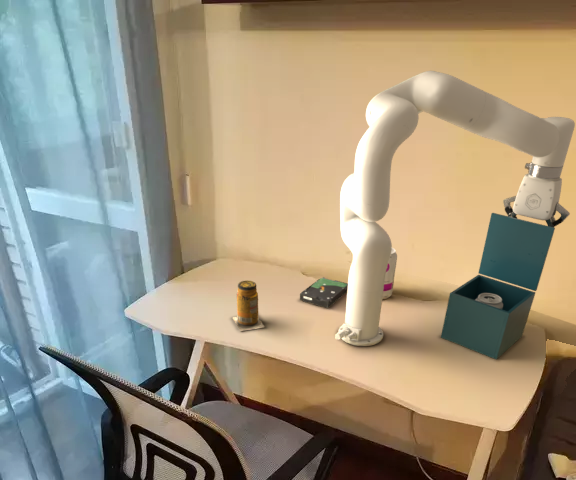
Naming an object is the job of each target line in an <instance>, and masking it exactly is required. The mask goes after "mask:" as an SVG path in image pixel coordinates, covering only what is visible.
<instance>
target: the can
mask: <svg viewBox="0 0 576 480" xmlns="http://www.w3.org/2000/svg"><path fill="white" fill-rule="evenodd" d="M475 300H476V301H478V302H481V303H484V304H487V305H490V306H493V307H496V308H499V309H503V303H502V298H501V297H500V296H498V295H496V294H492V293H482V294H480V295H478V298H476V299H475Z"/></svg>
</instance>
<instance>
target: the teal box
mask: <svg viewBox="0 0 576 480" xmlns="http://www.w3.org/2000/svg"><path fill="white" fill-rule="evenodd" d="M482 293H492V294H496V295H498V296H500V297H501V298H502V303H503V309H499V308H496V307H493V306H490V305H487V304H484V303H481V302H478V301H476V300H475V299H476V298H478V295H480V294H482ZM536 293H537V291H533V290H530V289H527V288H524V287H520V286H517V285H514V284H511V283H508V282H504V281H501V280H498V279H495V278H492V277H488V276H485V275H482V274H476V275H475V276H474V277H472V278H471V279H469V280H467V281H466V282H465V283H463V284H462V285H460V286H459V287H457V288H456V289H454V290H453V291H451V292H450V293H449V296H448V300H447V305H446V311H445V316H444V319H443V326H442V329H441V335H440V338H441V339H443V340H446V341H449V342H451V343H453V344H454V343H455V344H456V345H459V346H462V347H464V348H467V349H469V350H471V351H474V352H476V353H479V354H481V355H483V356H486V357H489V358H492V359H494V360H498V359H499V358H500V357H501V356H502V355H503V354H505V352H507V351H508V350H509V349H510V348H511V347H512V346H514V345H515V344H516V342H518V341H519V340H520V339H521V338H522V337H523V335H524V331H525V329H526V325H527V321H528V318H529V315H530V312H531V309H532V306H533V302H534V300H535V295H536Z"/></svg>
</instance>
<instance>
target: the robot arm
mask: <svg viewBox="0 0 576 480" xmlns="http://www.w3.org/2000/svg"><path fill="white" fill-rule="evenodd" d="M423 112H424V113H426V114H429V115H431V116H433V117H435V118H437V119H440V120H442V121H445V122H447V123H449V124H452V125H454V126H456V127H458V128H461V129H464V131H467V132H470V133H472V134H474V135H477V136H479V137H482V138H485V139H488V140H491V141H495V142H499V143H502V144H504V145H507V146H509V147H510V148H511V149H513V150H516V151H519V152H521V153H524V154H527V155H528V156H531V157H532V159H531V161H530V162H526V163H525V165H524V169H525V170H528V171H527V172H528V173H526V174H524V176H523V178H522V180H521V182H520V185H519V187H518V190H517V193H516V195H513V196H509V197H507V198H504V199H503V201H502V204H503V207H504V212H505V214H506V216H509V217H513V218H517V219H518V216H521V217H526V218H531V219H534V220H538V221H539V220H540V221H544V222H545V223H546V226H550V227H554V228H556V227H557V226H559V225H561V224H562V223H563V222H565V220H566V219H567V218H568V217H569V216H570V214H571V213H570V211H568V210H567V209H566V208H565V207H564V206H563V205H562V204H560V203H559V202H560V198H561V192H562V185H563V179H562V177H561V175H562V172H563V169H564V166H565V165H564V164H565V161H566V158H567V154H568V151H569V147H570V144H571V140H572V137H573V135H574V130H575V126H576V123H575V120H573V119H572V118H569V117H565V116H549V117H548V116H547V117H539V116H537V115H535V114H533V113H531V112H529V111H526V110H524V109H522V108H520V107H517V106H516V105H513V104H511V103H509V102H508V101H506V100H504V99H502V98H500V97H498V96H496V95H493V94H492V93H490V92H487V91H485V90H483V89H480V88H479V87H477V86H474V85H473V84H471V83H468V82H466V81H464V80H462V79H460V78H458V77H456V76H453V75H452V74H449V73H444V72H441V71H436V70H426V71H423V72H420V73H418V74H416V75H413V76H411V77H409V78H407V79H405V80H403V81H401V82H399V83H397V84H395V85H392V86H391V87H388V88H387V89H384V90H382V91H380V92H379V93H377V94H376V95H375V96H373V97H372V98H371V100H370V101H369V102H368V104H367V105H366V110H365V120H366V123H367V125H368V128H367V129H366V131H365V132H364V134H363V135H362V137H361V138H360V140H359V142H358V144H357V147H356V150H355V156H354V169H353V170H354V171H353V172H352V173H350V174H349V175H348V176H347V177H346V179H344V180H343V183H342V185H341V189H340V195H339V219H340V220H339V221H340V223H339V224H340V236H341V239H342V241H343V243H344V244H345V246H346V247H347V248H348V249H349V251H350V252H351V254H352V261H351V264H350V268H349V271H348V279H347V283H348V290H347V293H346V304H345V316H344V323H343V324H341V326H339V328H338V332H336V333H335V334H334V338H335V340H337V341H340V340H342V341H343V342H345V343H346V344H349V345H353V346H358V347H369V346H374V345H377V344H379V343H380V342H381V341H382V340H383V339H384V331H383V329H382V328H381V326H380V320H381V312H382V305H383V299H382V297H383V289H384V280H385V274H386V269H387V265H388V262H389V259H390V255H391V251H392V248H393V244H392V240H391V239H392V238H390V235H389V234H388V232H387V231H386V229H385V228H383V226H381V225H380V224H379V223H378V222H379V221H380V220H382V219H383V218H384V217H385V216H386V214H387V213H388V211H389V207H390V199H391V198H390V196H391V195H390V194H391V171H392V163H393V158H394V155H395V153H396V151H397V150H398V149H399V147H400V146H401V145H402V144H403V143H404V142H405V141H407V140H408V139H409V138H410V137H411V136H412V135H413V133H414V132H415V131H416V129H417V127H418V124H419V119H420V117H419V114H421V113H423ZM511 203H513V206H511ZM557 213H559V214H560V217H558V219H556V218H555V215H556V214H557ZM517 215H518V216H517Z"/></svg>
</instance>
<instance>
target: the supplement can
mask: <svg viewBox="0 0 576 480" xmlns="http://www.w3.org/2000/svg"><path fill="white" fill-rule="evenodd" d="M397 261H398V254H397V250H396V248H395V247H392V251H391V255H390V259H389V262H388V265H387V269H386V274H385V280H384V289H383V297H382V300H386V299H389V298H390V297H391V296H392V295H393V290H394V283H395V275H396V268H397Z"/></svg>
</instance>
